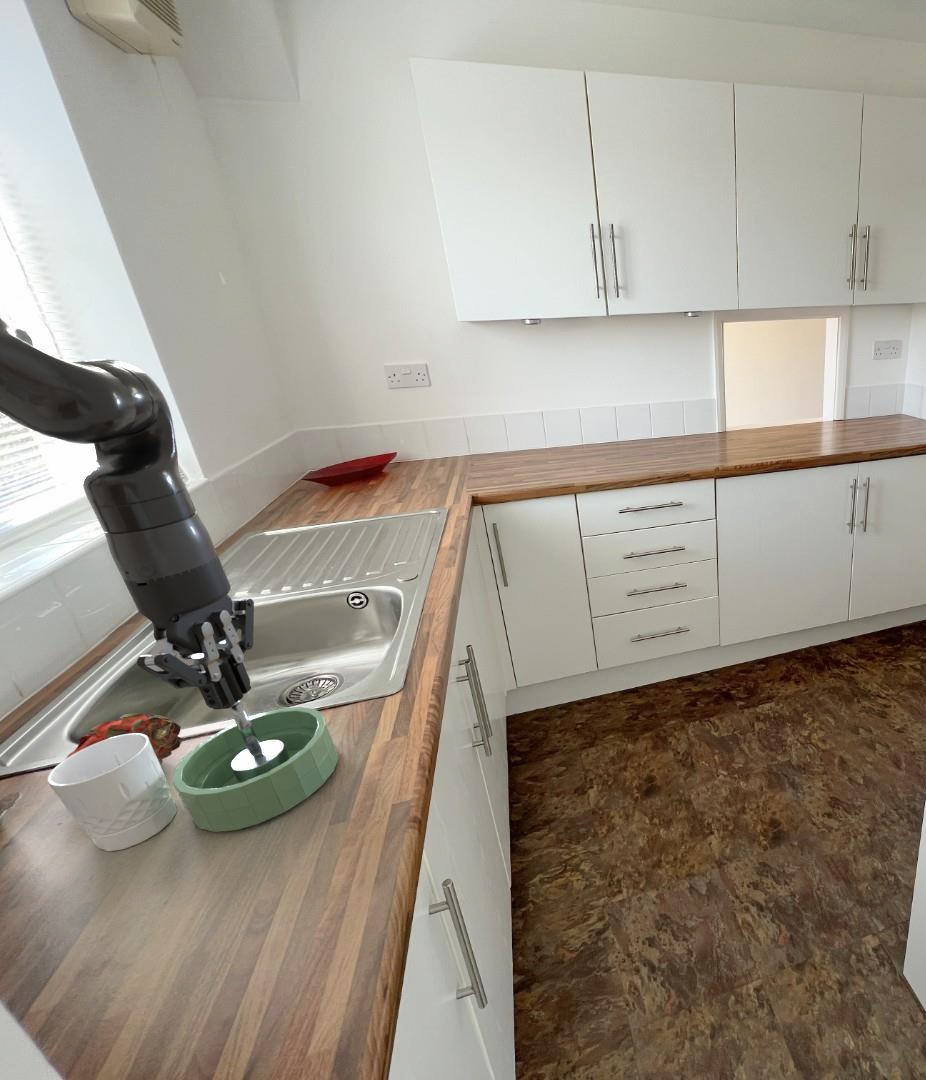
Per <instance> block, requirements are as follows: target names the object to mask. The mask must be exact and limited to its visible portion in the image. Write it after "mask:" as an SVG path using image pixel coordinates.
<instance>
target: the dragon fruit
mask: <svg viewBox="0 0 926 1080" xmlns="http://www.w3.org/2000/svg"><path fill="white" fill-rule="evenodd" d="M118 719H119V720H107V721H104V722H101V723H99V724H97V725H95V726H93V727H92V728H91V729H89V733H87V734H85V735H82V736H81V737H80V738H79V740H78V741H79V743H78V744H77V746H76V747H75V749H74V750H73V751H72V752H70V753H69V754H68V755H67V756H66V757H65V759H67V758H68V757H70V756H71V755H73V754H75V753H76V752H78V751H80V750H82V749H84V748H86V747H88V746H91V745H93V744H95V743H98V742H100V741H103V740H106V739H109V738H112V737H116V736H120V735H125V734H133V733H139V734H144V735H146V736H147V737H148V738H149V740H150V743H151V745H152V747H153V750H154V752H155V754H156V756H157V759H158V761H159V763H160V765H161V764H162V763H163V759H166V758H169V757H170V756H171V755H172V754H173V753H172V752H173V751H176V750H177V749H179V748H180V747H181V744H182V743H183V740H184V738H182V737H180V736H179V735H180V733H181V729H182V726H181V725H179V724H178V723H177V722H175V721H171V719H170V718H168V717H167V716H162V715H157V714H149V715H148V716H146V715H145V714H144V713H125V714H123V715H121V716H119V717H118ZM65 759H64V760H65ZM64 760H63V761H64Z"/></svg>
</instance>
